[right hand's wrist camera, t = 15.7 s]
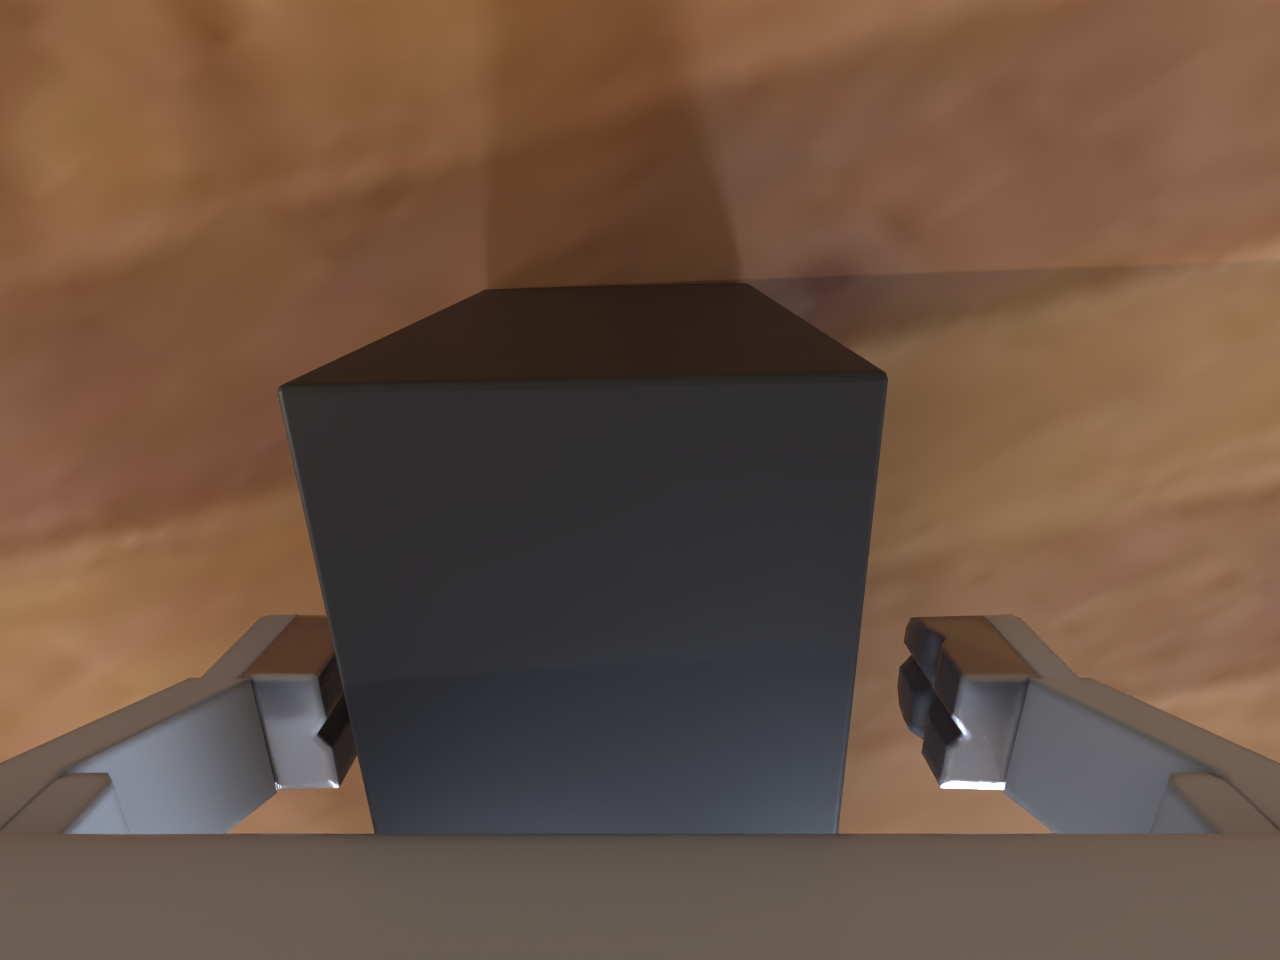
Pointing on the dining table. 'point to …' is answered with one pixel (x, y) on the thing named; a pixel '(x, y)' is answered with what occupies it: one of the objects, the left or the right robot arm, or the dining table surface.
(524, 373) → the bar
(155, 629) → the dining table surface
